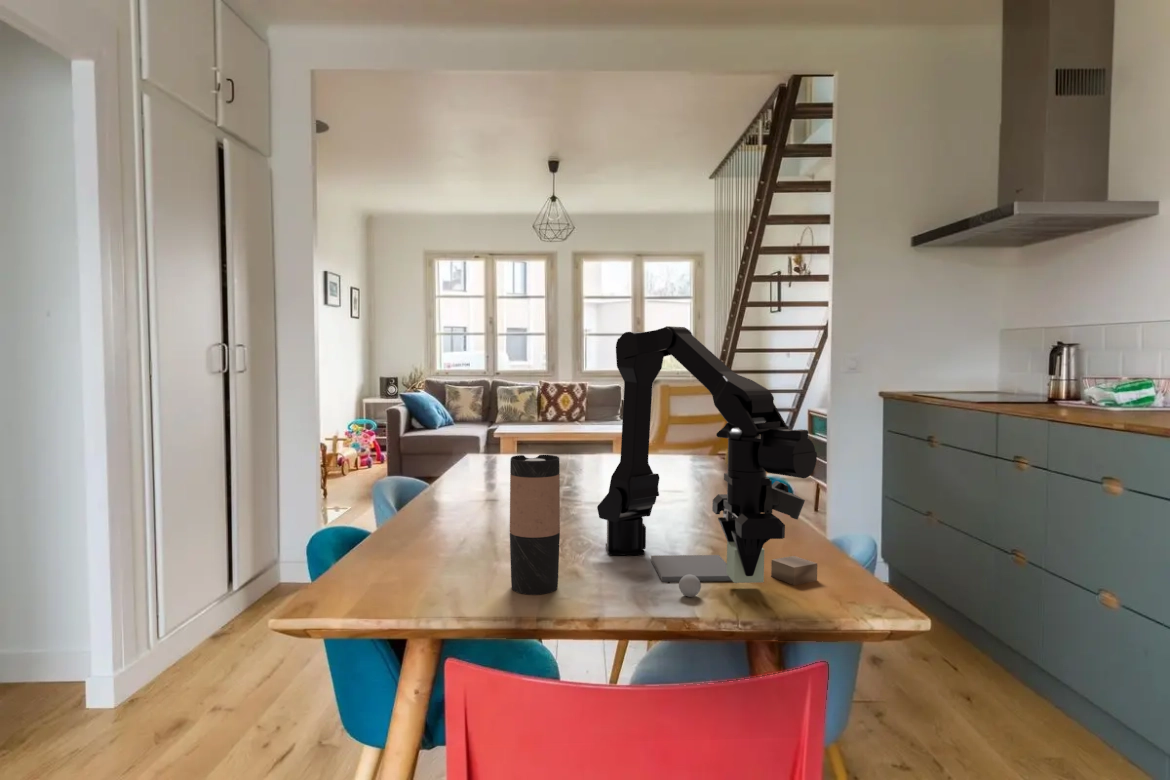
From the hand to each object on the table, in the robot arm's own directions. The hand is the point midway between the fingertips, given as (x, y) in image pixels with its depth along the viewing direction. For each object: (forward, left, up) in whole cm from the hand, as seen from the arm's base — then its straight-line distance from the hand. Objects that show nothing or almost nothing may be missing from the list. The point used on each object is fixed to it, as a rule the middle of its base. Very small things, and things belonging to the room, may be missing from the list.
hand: (744, 570), depth 109 cm
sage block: (0, 0, -1) cm, 1 cm away
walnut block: (+10, +5, -3) cm, 11 cm away
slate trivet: (-6, +10, -3) cm, 12 cm away
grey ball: (-9, -3, -1) cm, 10 cm away
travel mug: (-32, +2, -3) cm, 32 cm away
